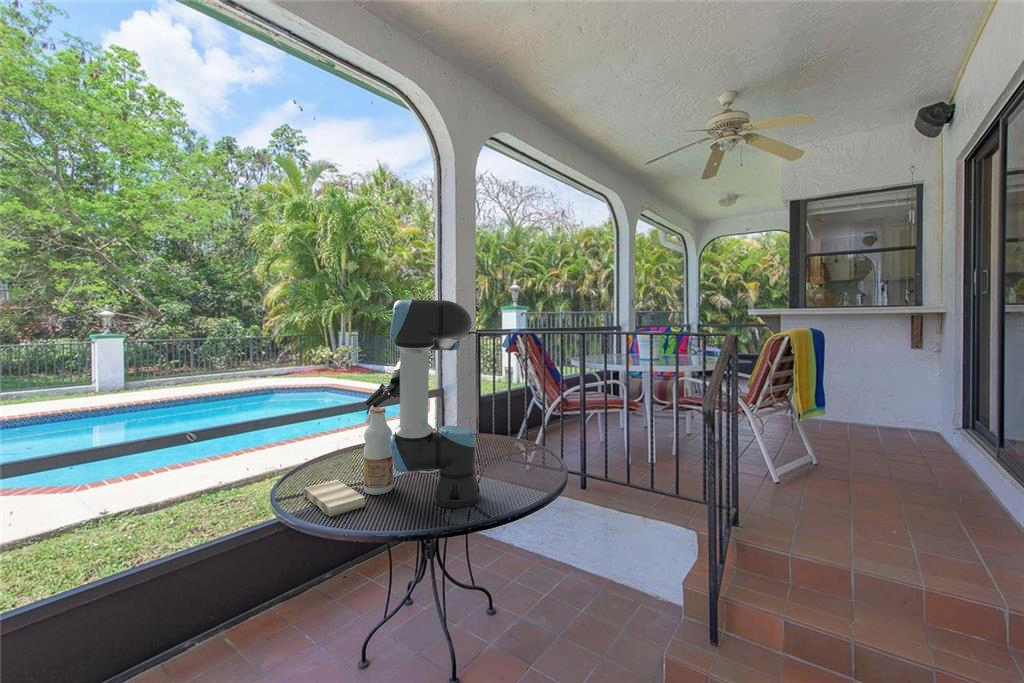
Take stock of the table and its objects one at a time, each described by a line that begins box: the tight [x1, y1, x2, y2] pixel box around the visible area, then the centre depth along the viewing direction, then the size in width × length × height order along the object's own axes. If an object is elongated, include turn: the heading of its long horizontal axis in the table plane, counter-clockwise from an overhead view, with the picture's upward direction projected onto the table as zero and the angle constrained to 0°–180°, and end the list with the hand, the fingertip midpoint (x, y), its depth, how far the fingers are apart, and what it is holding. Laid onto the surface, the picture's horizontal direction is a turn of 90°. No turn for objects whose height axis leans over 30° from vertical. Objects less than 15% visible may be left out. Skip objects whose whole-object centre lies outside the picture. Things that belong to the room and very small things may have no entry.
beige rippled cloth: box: [303, 479, 366, 518], centre depth 142 cm, size 20×11×3 cm, turn 45°
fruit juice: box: [363, 406, 394, 496], centre depth 151 cm, size 9×9×28 cm
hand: (385, 424), depth 157 cm, fingers open, 13 cm apart
